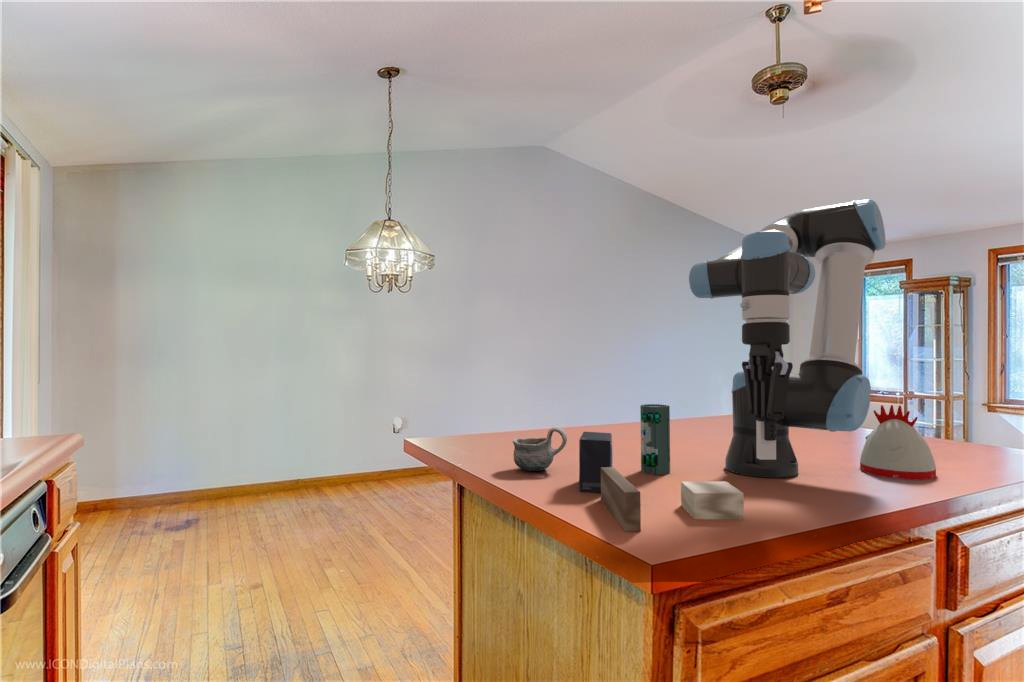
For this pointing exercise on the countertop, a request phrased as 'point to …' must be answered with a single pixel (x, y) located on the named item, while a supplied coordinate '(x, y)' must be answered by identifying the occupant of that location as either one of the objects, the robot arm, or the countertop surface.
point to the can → (655, 439)
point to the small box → (593, 459)
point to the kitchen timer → (897, 449)
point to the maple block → (712, 500)
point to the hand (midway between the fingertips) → (766, 458)
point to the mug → (537, 451)
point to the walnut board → (621, 499)
